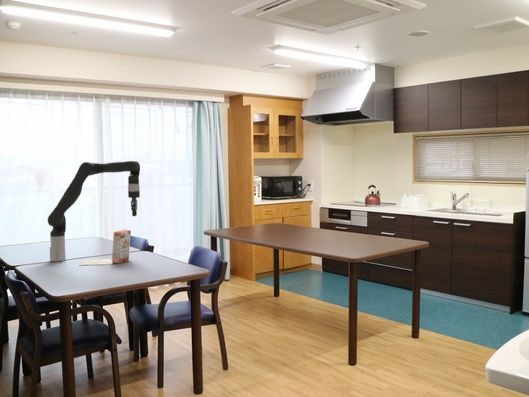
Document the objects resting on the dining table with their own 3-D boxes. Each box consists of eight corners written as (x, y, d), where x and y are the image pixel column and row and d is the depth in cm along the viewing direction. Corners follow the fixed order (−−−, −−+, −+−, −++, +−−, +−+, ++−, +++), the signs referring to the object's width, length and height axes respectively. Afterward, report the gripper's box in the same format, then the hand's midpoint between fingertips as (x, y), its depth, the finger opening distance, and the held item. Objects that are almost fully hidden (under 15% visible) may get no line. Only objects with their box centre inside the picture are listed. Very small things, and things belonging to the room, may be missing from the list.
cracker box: (119, 263, 326) (121, 232, 325) (111, 262, 328) (112, 231, 326) (129, 260, 340) (131, 230, 339) (121, 259, 341) (123, 229, 340)
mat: (79, 265, 322) (79, 265, 322) (85, 260, 340) (85, 259, 340) (112, 264, 325) (112, 263, 325) (117, 259, 342) (117, 258, 342)
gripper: (129, 190, 339) (130, 215, 340) (126, 191, 325) (127, 217, 326) (140, 190, 340) (141, 214, 341) (138, 190, 325) (138, 216, 327)
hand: (134, 215), depth 333 cm, fingers open, 3 cm apart
